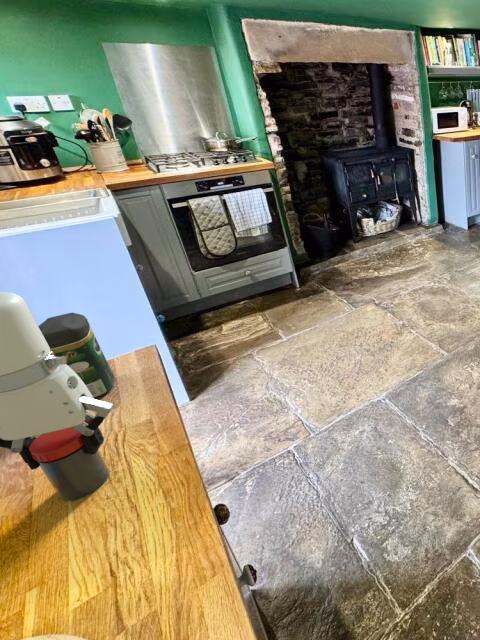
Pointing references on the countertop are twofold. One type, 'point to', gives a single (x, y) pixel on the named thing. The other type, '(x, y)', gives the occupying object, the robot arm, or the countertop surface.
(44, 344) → the robot arm
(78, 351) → the coffee jar
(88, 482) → the jam jar
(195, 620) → the countertop surface
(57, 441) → the jam lid
